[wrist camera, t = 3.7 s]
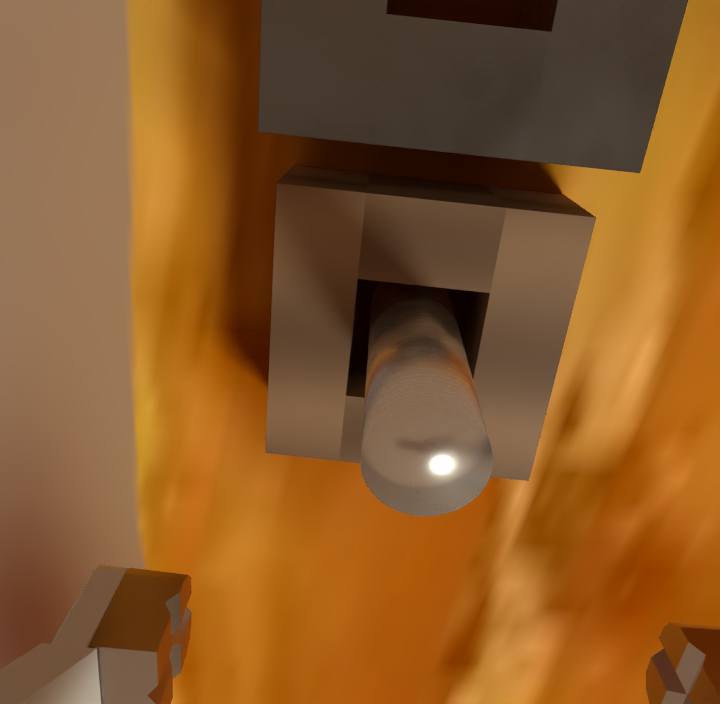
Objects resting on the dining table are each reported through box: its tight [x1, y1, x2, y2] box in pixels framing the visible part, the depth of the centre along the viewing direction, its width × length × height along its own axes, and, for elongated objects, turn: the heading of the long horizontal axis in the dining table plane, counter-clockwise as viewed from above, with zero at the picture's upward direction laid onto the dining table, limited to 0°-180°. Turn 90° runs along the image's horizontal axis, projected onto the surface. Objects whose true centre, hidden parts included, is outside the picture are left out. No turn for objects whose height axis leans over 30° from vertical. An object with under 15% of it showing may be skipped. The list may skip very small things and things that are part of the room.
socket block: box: [265, 165, 596, 481], centre depth 23 cm, size 10×10×4 cm
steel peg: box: [361, 281, 493, 516], centre depth 20 cm, size 3×3×11 cm
